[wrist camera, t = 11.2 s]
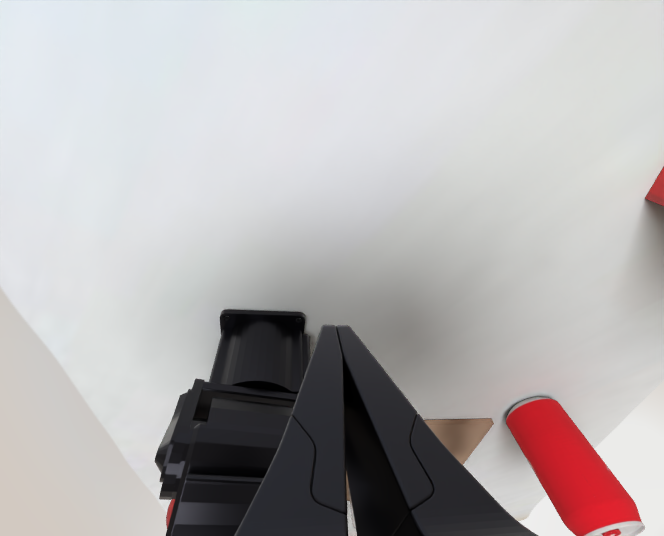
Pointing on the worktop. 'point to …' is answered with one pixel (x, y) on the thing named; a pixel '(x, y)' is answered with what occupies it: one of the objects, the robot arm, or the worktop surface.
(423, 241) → the worktop surface
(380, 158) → the worktop surface
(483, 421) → the dial board
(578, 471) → the beverage can
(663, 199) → the baking soda box
